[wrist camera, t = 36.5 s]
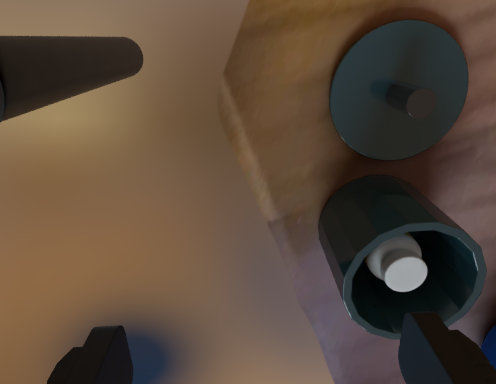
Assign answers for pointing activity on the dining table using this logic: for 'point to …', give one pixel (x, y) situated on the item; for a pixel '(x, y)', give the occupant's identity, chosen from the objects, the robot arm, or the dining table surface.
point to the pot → (389, 226)
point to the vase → (490, 346)
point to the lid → (398, 89)
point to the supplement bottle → (398, 263)
